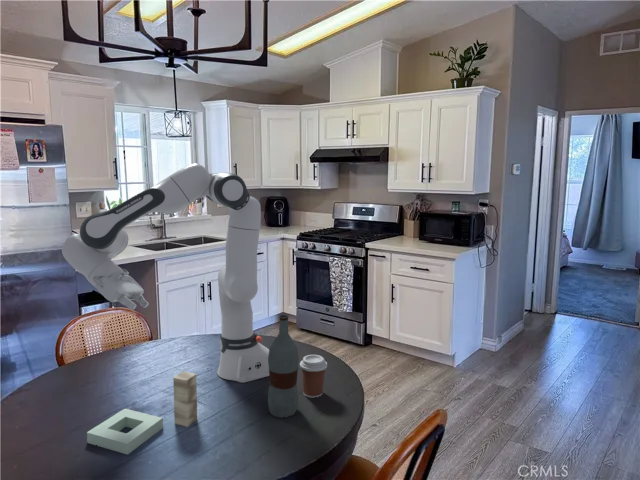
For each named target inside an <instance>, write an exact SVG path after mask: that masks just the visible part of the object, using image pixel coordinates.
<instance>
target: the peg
mask: <svg viewBox="0 0 640 480" xmlns="http://www.w3.org/2000/svg"><path fill="white" fill-rule="evenodd" d="M172 381H173V409H174V411H173V412H174V414H173V415H174V418H173V419H174V425H179V426H183V427H186V428H189V426H191V425H192V424H193V423H195V422H196V421H197V420H198V395H197V394H198V393H197V391H198V389H197V387H198V386H197V385H198V384H197V383H198V382H197V374H196V373H193V372H188V371H182V372H180V373H179V374H177V375H175V376H174V377H173V379H172Z"/></svg>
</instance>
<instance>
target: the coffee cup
mask: <svg viewBox="0 0 640 480" xmlns="http://www.w3.org/2000/svg"><path fill="white" fill-rule="evenodd" d="M327 367H328V362H327V361H326V360H325V357H323V356H321V355H318V354H307V355H305V356H303V358H302V360H301V361H300V362H299V368H300V369H301V375H302V391H303V393H302V394H303V395H304V396H305V397H306V396H307V398H309V399H315V397H317V398H320V397H322V396H323V394H324V383H325V375H326V374H325V373H326V369H327ZM321 395H322V396H321ZM319 396H320V397H319Z"/></svg>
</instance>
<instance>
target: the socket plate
mask: <svg viewBox="0 0 640 480" xmlns="http://www.w3.org/2000/svg"><path fill="white" fill-rule="evenodd" d="M126 427H127V428H129V429H131V430H130V431H128V432H127V433H125V432H122V430H123V429H124V428H126ZM163 428H164V418H163V417H161V416H157V415H153V414H150V413H145V412H141V411H136V410H132V409H130V408H124V409H122V410H120V411H119V412H117V413H115V414H114V415H112V416H110V417H109V418H108V419H106V420H104V421H103V422H101V423H99V424H98V425H96V426H95V427H93V428H91V429H90V430H88V431H87V432H86V438H87V439H86V441H87V444H89V445H90V444H91V445H93V446H96V445H97V446H96V447H101V448H103V449H107V450H111V451H114V452H117V453H121V454H124V455H127V456H128V455H130V454H131V453H132V452H133V451H134V450H136V449H137V448H138V447H139V446H141V445H142V444H144V443H145V442H146V441H148V440H149V439H151V437H153V436H155V435H156V434H157V433H158V432H160V431H161V430H162V429H163Z"/></svg>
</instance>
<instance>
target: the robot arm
mask: <svg viewBox="0 0 640 480" xmlns="http://www.w3.org/2000/svg"><path fill="white" fill-rule="evenodd" d="M246 185H247V184H246V183H245V181H244V179H243V178H242V177H240V176H239V175H237V174H235V173H232V172H217V173H210V172H209V170H208V169H207V168H206V167H205V166H203V165H201V164H200V163H191V164H190V165H187V166H184V167H183V168H180V169H179V170H177V171H175V172H174V173H172V174H170V175H169V176H167V177H166V178H164V179H162V180H160V181H159V182H158V183H156V184H155V185H153V186H151V187H149V188H147V189H145V190H143V191H141V192H139V193H137V194H135V195H133V196H132V197H130V198H128V199H126V200H125V201H123V202H121V203H120V204H118V205H116V206H115V207H113V208H111V209H108V210H105V211H102V212H97V213H93V214H91V215H89V216H88V217H86V218H85V219H84V220H83V222H82V223H81V225H80V229H79V233H74V234H71V236H68V238H67V239H66V240H65V242H64V243H63V245H62V247H61V253H62V256H63V258H64V260H65V261H67V262H68V264H69V265H70V266H71V267H72V268H73V269H74V270H75V271H77V272H78V273H79V274H81V275H83V276H84V277H85V278H86V280H87V281H88V282H89V283H90V284H91V285H92V286H93V287H95V289H96V290H97V291H98V292H99V294H101V296H103V297H104V298H105V299H106V300H107V301H109V303H110V302H111V303H116V302H118V303H120V304H121V305H123V306H124V307H127V308H128V309H129V310H132V311H133V310H135V309H136V308H137V304H136V303H135V302H134V301H136V302H137V303H138V304H139V306H141V307H142V308H147V307H148V306H149V304H150V303H149V302H148V301H147V300H146V299H145V297H144V295H143V294H144V293H145V290H144V289H143V288H142V286H141V285H140V284H139V283H138V282H137V281H136V280H135V278H133V277H132V276H131V275H129V274H130V272H129V271H128V270H127V269H125V268H123V267H122V266H121V267H120V266H119V265H118V264H116V263H115V262H114V261H113V260H112V259H114V258H115V257H117V256H119V254H121V253H122V252H124V251H125V250H126V248H127V247H128V243H129V235H128V233H127V232H126V230H124V229H125V227H128V226H129V225H130V224H132V223H134V222H136V221H138V220H140V218H143V217H145V216H146V215H148V214H149V215H150V214H153V213H161V214H165V215H174V214H175V213H178V212H180V211H183V210H184V209H185V208H187V207H188V206H190V205H191V204H193V203H194V202H195V201H197V200H199V199H200V198H203V197H206V198H207V199H209V200H210V201H212V202H213V203H216V204H217V205H219V206H224V207H226V208H227V211H228V215H229V217H228V222H227V223H228V224H227V232H226V239H225V248H224V249H225V250H224V251H225V265H223V266H221V268H220V269H219V271H218V274H217V281H218V282H217V283H218V296H219V298H218V299H219V306H220V315H221V317H220V318H221V320H220V321H221V326H220V327H221V334H220V339H219V349H220V357H219V358H220V360H219V364H218V368H217V372H216V373H217V376H218V377H220V378H221V379H224V380H228V381H235V382H238V383H243V384H244V383H247V382H252V381H255V380H259V379H263V378H265V377H269V365H268V355H269V349H270V348H267V346H265V345H263V344H262V343H261V342H262V341H263V338H262V337H261V336H260V335H258V334H257V333H256V332H254V326H253V325H254V323H253V322H254V317H253V316H254V314H253V313H254V312H253V309H252V302H251V301H252V300H253V299H255V297H256V295H257V293H258V289H259V287H258V249H259V248H258V246H259V238H260V233H261V231H260V230H261V224H262V223H261V221H262V210H261V203H260V202H259V200H258V199H257V198H255V197H254V196H251V195H250V193H249V191H248V187H247V186H246Z"/></svg>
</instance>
